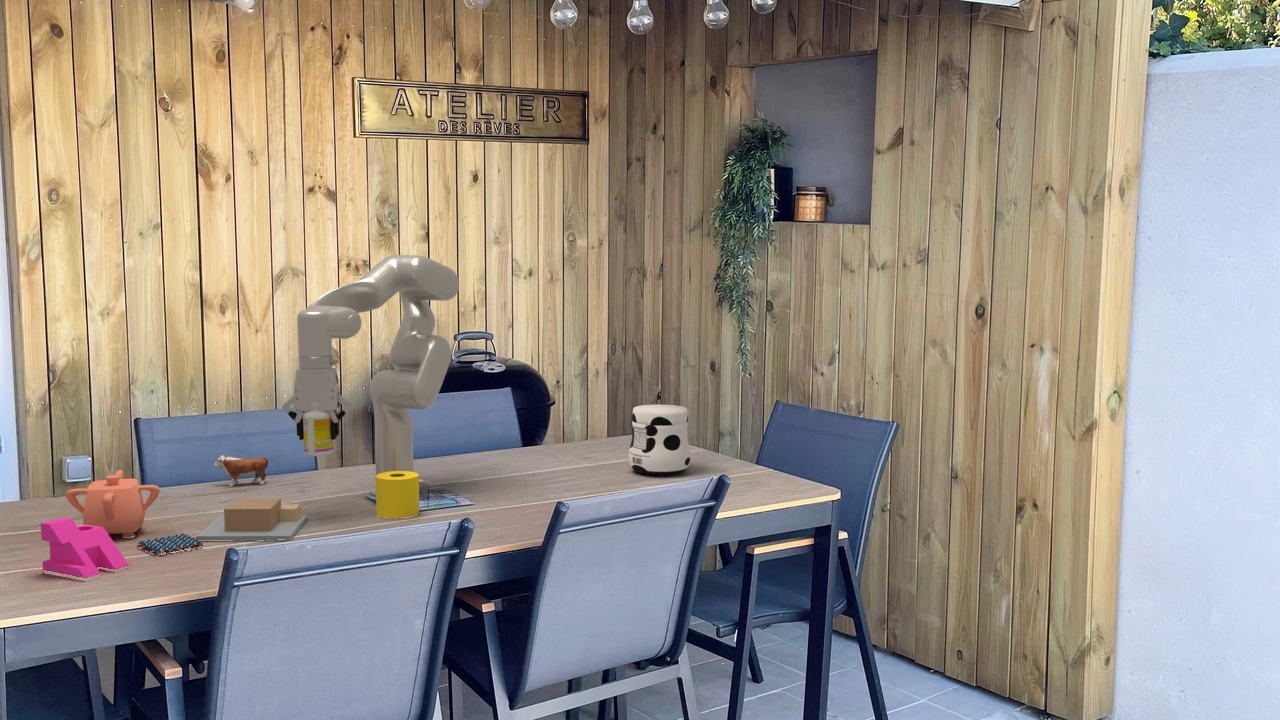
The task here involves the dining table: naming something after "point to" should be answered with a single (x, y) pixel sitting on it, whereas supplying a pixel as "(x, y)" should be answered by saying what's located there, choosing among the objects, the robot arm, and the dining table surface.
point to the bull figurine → (243, 468)
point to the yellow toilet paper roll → (397, 494)
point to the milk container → (659, 439)
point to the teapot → (114, 503)
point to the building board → (251, 535)
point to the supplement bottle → (317, 432)
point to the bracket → (79, 548)
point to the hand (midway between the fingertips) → (318, 438)
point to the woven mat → (169, 544)
